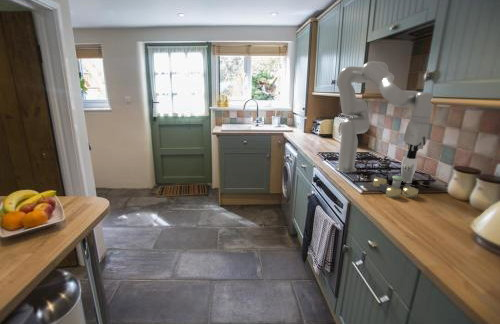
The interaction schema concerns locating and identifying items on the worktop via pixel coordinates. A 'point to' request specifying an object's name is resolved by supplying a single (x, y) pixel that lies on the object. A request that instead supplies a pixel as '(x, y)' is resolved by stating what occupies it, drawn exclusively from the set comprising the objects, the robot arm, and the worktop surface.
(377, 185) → the knob left
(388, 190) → the knob
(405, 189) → the knob
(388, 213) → the worktop surface
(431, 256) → the worktop surface
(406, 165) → the beer glass
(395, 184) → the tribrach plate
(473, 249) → the worktop surface
